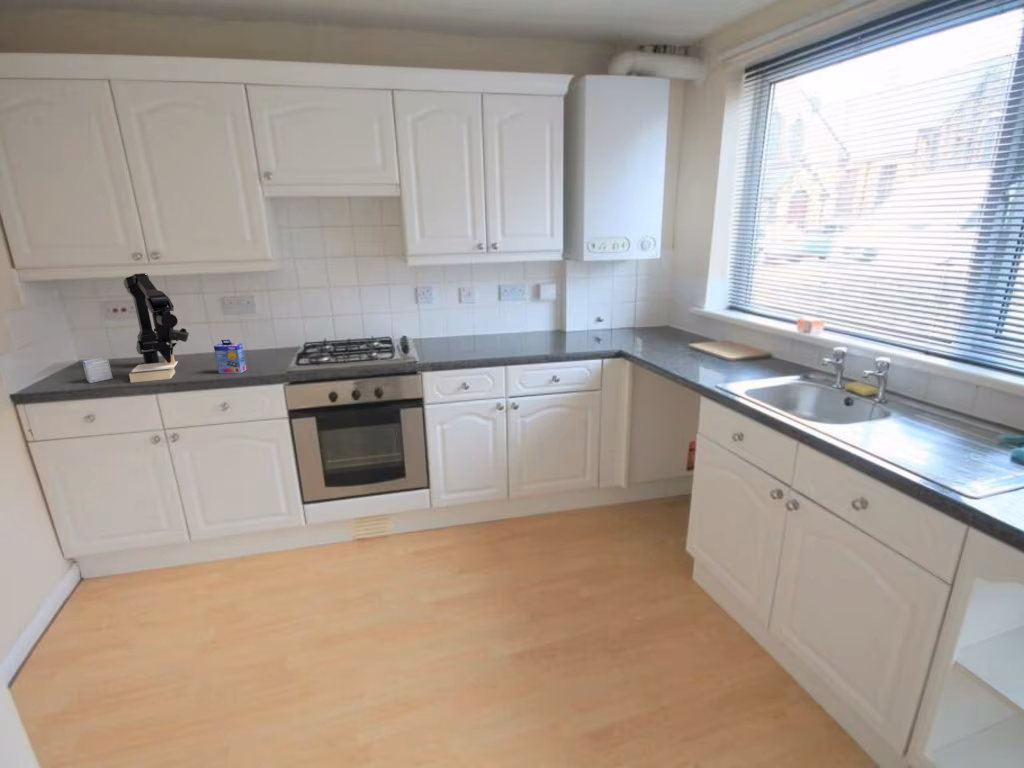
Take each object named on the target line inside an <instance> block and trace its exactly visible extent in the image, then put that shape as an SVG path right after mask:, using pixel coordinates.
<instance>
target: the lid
mask: <svg viewBox="0 0 1024 768" xmlns="http://www.w3.org/2000/svg"><path fill="white" fill-rule="evenodd" d="M177 364H178V360H177V361H176V360H175V355H174V353H173V354H171V363H168V362H167V361H166V360H165V359H164V362H163V361H162V363H152V364H145V363H143V364H142V363H141V364H138V365H136V366H135V367H134V368H133V369H132V370H131V371H132V372H140V371H151V370H161V369H172V368H174V369H175V367H176V366H177Z"/></svg>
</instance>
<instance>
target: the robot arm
mask: <svg viewBox="0 0 1024 768" xmlns="http://www.w3.org/2000/svg"><path fill="white" fill-rule="evenodd" d="M145 274H146V273H145V272H144V273H134V274H132V275H130V276H127V277H125V278H124V280H123V285H124V288H125V289H126V292H127V293H128V294H129V295H130V296H131V297H132V299H133V302H134V303H133V304H134V307H135V312H136V316H137V321H138V326H139V332H138V334H137V340H136V348H135V349H136V352H137V354H139V355H142V358H143V362H144V363H143V364H152V363H163V361H160V358H159V353H160V355H161V356H162V357H163V358H164V361H165V360H166V361H167V362H168V363H171V354H174V347H176V345H177V342H179V341H181V342H184V343H185V342H187V341H188V338H189V336H190V335H189V334H190V333H189V332H188V331H187V328H183V327H182V328H180V329H174V327H176V326H177V325H178V323H179V322H178V318H177V316H176V315H174V314H172V313H171V312H174V309H175V308H174V305H173V302H172V301H171V299H170V297H169V296H168V295H167V294H166V293H164V291H161V290H158V289H157V287H156V286H155V285H154V283H153V282H152V280H151V279H150V278H149V275H148V274H147V275H145ZM150 314H151V315H150ZM150 316H152V317H150ZM151 318H152V321H153V325H154V328H153V326H152V321H151ZM174 341H176V342H174Z"/></svg>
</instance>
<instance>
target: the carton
mask: <svg viewBox="0 0 1024 768" xmlns="http://www.w3.org/2000/svg"><path fill="white" fill-rule="evenodd" d="M175 374H176V370H175V367H174V368H172V369H161V370H151V371H140V372H132V370H131V371H130V372H129V374H128V376H129V379H130V380H129V381H130V384H131V383H140V382H149V381H150V382H151V381H152V382H153V381H162V380H170V379H172V377H173V376H174V375H175Z"/></svg>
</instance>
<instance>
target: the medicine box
mask: <svg viewBox="0 0 1024 768" xmlns="http://www.w3.org/2000/svg"><path fill="white" fill-rule="evenodd" d="M81 362H82V366H83V370H84V373H85V377H86V381H87V382H88V383H90V384H91V383H96V382H102V381H108V380H113V373H112V369H111V365H110V361H109V359H108V358H106V357H99V358H93V359H88V360H82V361H81Z"/></svg>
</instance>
